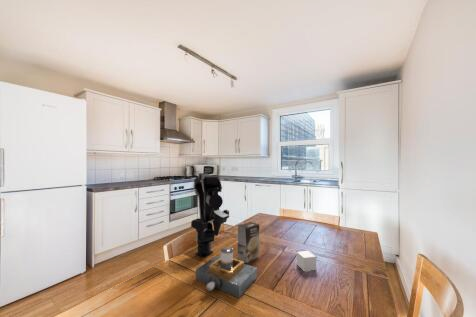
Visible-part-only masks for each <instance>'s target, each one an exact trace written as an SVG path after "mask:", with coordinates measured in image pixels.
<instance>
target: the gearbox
mask: <svg viewBox="0 0 476 317" xmlns="http://www.w3.org/2000/svg"><path fill="white" fill-rule="evenodd" d="M220 261H221V255H216V256H214V257H213V258H211V259H209V260H207V261H206V262H205V263H204V264H202V265H200V266H199V267H197V268H195V281H196V280H197V281H198V282H201V283H203V284H206V290H207V292H211V291H213V290H214V291H219V290H220V291H222V292H224V293H227V294H229V295H230V296H231V295H232V296H234V297H236V298H241V296H242V295H243V294H244V293H245V292H246V291H247V290H248V289H249V287H250V286H251V285H252V284H253V283H254V282H255V281H256V280H257V279H258V267H256V266H254V265H249V264H248V263H247V264H246V263H245V262H244V261H241V260H239V259H238V258H234V257H233V269H231V270H230V271H228V270H225V269H222V268H220Z"/></svg>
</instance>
